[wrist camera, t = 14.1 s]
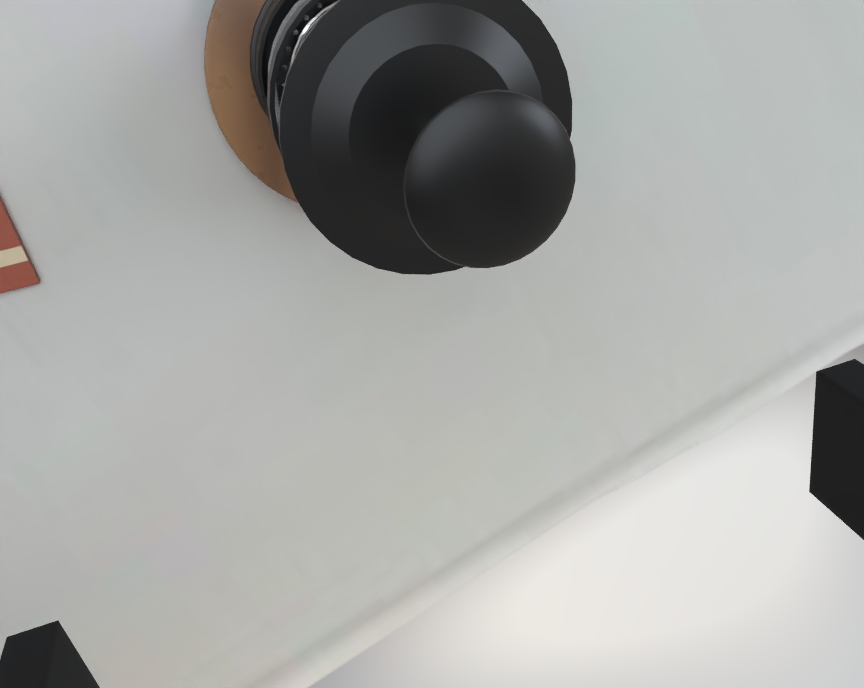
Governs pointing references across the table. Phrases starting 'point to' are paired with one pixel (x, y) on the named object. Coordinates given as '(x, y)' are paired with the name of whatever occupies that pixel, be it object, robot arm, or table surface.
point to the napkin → (13, 257)
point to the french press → (419, 126)
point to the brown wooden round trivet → (241, 92)
